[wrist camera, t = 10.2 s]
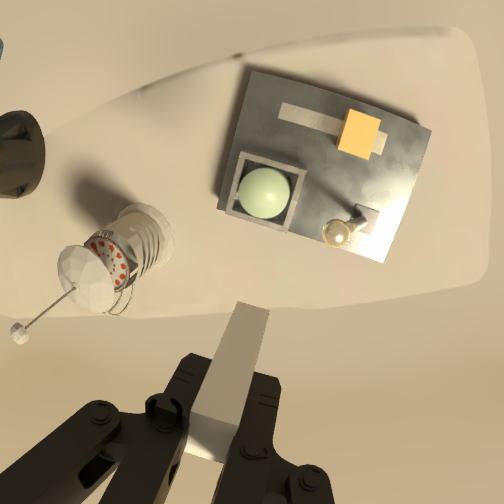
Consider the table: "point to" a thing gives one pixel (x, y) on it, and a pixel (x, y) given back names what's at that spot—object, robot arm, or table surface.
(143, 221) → the french press
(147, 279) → the table surface
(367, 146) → the yellow cube
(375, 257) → the panel
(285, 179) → the push button
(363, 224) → the toggle lever
